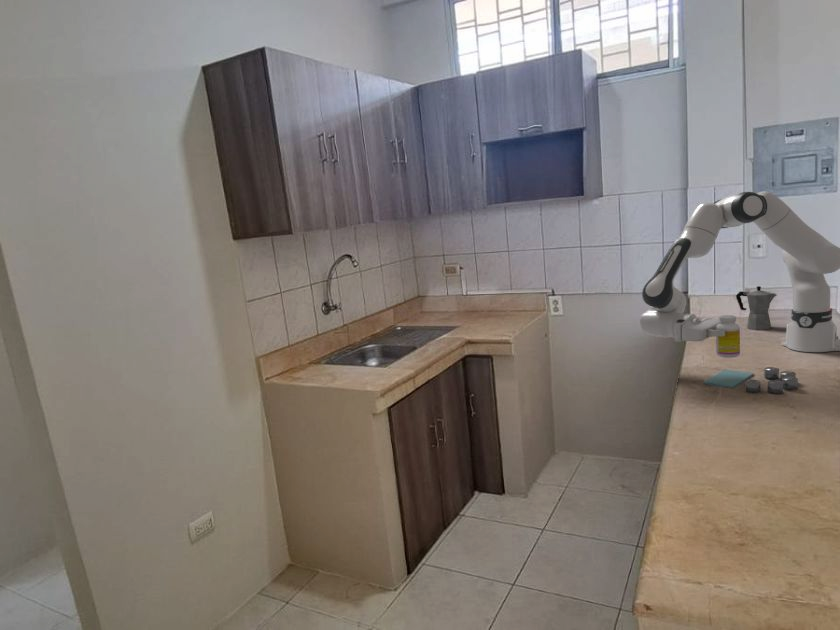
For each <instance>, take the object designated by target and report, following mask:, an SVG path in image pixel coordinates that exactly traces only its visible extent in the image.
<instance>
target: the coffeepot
mask: <svg viewBox="0 0 840 630" xmlns="http://www.w3.org/2000/svg"><path fill="white" fill-rule="evenodd" d="M776 296H778V294H777V293H774V292H771V291H767V290H762V287H761V285H758V286H756V290H754V291H739V292H738V293H737V294H735V299H736V300H737V301H736V302H737V303H738V305H739V309H740V310H741V311H746V310H747V309H749V313H748V319H747V324H746V327H747V329H749V330H752V331H754V330H755V331H767V330H771V329H772V325H771V324H772V323H771V319H770V314H769V309H770V305H771V304H772V303H771V302H772V301H773V300H774V298H775V297H776ZM742 297H746V298H747V303H748V308H746V307H744V304H743V302H742Z"/></svg>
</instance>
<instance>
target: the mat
mask: <svg viewBox="0 0 840 630" xmlns="http://www.w3.org/2000/svg"><path fill="white" fill-rule="evenodd" d="M754 375H755V373H754V372H748V371H747V372H746V371H741V370H733V369H726V368H725V369H723V370H721V371H720V372H718V373H716V374H714V375H713V376H711V377H710V378H707V379H706V380H705V381H703V385H708V386H709V385H710V386H715V387H721V388H728V389H735V388H736V387H737V386H739V385H740V384H742V383H744V382H745V381H746V380H749V378H752V377H753V376H754Z"/></svg>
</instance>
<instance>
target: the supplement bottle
mask: <svg viewBox="0 0 840 630" xmlns="http://www.w3.org/2000/svg"><path fill="white" fill-rule="evenodd" d="M719 317H720V319H719V320H720V324H718V325H717V326H716V330H726V335H725V336H715V337H716V341H715V342H716V345H715V347H716V355H717V356H719V357H721V358H726V359H727V358H728V359H729V358H737V357H739V356H740V355H741V342H740V341H741V334H740V331H741V329H740V325H739V324H738V323H737V322H736V321H737V316H736V315H734V314H733V315H730V314H725V315H720V316H719Z"/></svg>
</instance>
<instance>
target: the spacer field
mask: <svg viewBox="0 0 840 630" xmlns="http://www.w3.org/2000/svg"><path fill="white" fill-rule="evenodd" d="M763 371H764V376H763V377H764V379H765V378H766V380H767V383H766V385H767V389H766V390H767V393H769V394H771V395H782V394H784V390H785V391H793V390H794V391H798V390H799V379H798V378H797V373H796V372H794V371H791V370H790V371H789V370H788V371H787V370H783V371H780V368H778V367H773V366H768V367H764V369H763ZM769 379H771V380H769ZM775 379H777V380H775ZM779 379H780V380H779ZM744 382H745V383H744V384H745V386H744V387H745V392H746V393H748V394H759V393H761V391H762V390H761V386H762V385H761V382H762V381H761V380H758V379H757V380H756V379H747V380H745V381H744ZM797 389H798V390H797Z"/></svg>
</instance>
